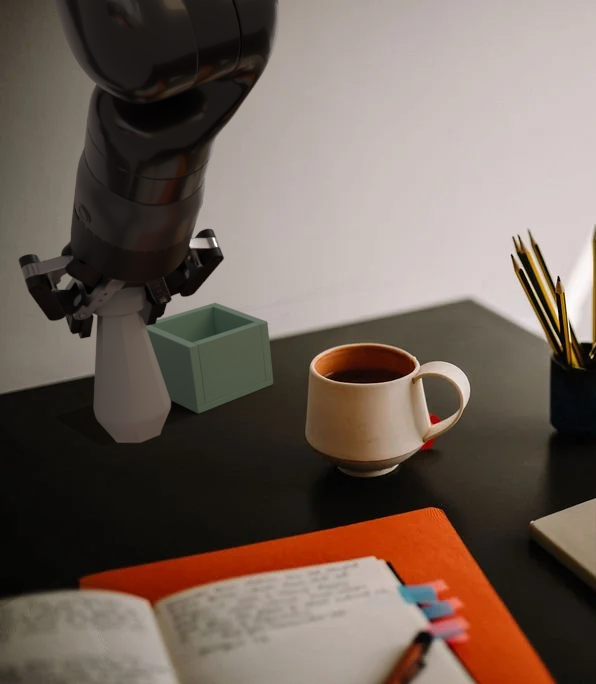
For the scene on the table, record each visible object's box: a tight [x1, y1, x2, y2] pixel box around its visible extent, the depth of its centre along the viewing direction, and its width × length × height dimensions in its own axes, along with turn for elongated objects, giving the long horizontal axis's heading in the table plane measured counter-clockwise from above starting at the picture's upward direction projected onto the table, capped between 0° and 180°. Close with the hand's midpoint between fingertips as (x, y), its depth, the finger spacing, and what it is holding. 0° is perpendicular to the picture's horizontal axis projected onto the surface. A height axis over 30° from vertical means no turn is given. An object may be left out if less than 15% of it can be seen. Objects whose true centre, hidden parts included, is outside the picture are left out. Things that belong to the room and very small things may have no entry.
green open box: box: [145, 302, 274, 415], centre depth 103 cm, size 10×10×8 cm
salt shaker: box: [92, 286, 172, 444], centre depth 72 cm, size 6×6×13 cm
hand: (114, 321), depth 72 cm, fingers closed on salt shaker, 4 cm apart
